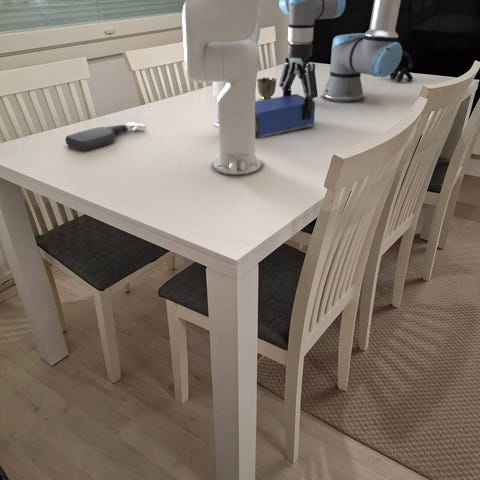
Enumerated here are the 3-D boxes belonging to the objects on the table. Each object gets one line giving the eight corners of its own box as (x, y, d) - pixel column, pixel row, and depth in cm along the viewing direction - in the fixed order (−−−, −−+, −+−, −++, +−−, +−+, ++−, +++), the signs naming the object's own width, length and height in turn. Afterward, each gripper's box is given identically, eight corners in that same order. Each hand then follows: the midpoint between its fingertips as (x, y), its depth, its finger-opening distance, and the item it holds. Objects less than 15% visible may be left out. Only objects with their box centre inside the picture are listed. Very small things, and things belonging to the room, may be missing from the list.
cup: (253, 101, 174) (253, 80, 169) (261, 97, 179) (262, 76, 175) (271, 103, 171) (271, 82, 166) (279, 99, 176) (279, 78, 172)
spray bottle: (63, 145, 135) (128, 126, 151) (84, 153, 129) (149, 132, 145) (61, 135, 134) (127, 117, 150) (83, 143, 128) (148, 123, 144)
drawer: (225, 141, 134) (224, 122, 131) (212, 132, 142) (211, 113, 139) (294, 126, 143) (295, 107, 140) (279, 118, 151) (278, 100, 147)
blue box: (259, 138, 138) (258, 112, 134) (243, 128, 147) (242, 104, 143) (314, 125, 145) (315, 101, 141) (295, 117, 154) (296, 93, 150)
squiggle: (400, 92, 202) (376, 71, 205) (417, 76, 202) (392, 56, 205) (405, 81, 191) (380, 59, 194) (423, 64, 191) (397, 42, 194)
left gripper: (247, 67, 124) (247, 131, 134) (225, 57, 135) (227, 117, 146) (222, 70, 121) (225, 135, 132) (202, 60, 133) (206, 120, 143)
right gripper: (334, 46, 128) (327, 122, 139) (289, 37, 146) (286, 104, 157) (312, 48, 125) (307, 125, 136) (269, 39, 143) (268, 107, 154)
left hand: (226, 125), depth 139 cm, fingers closed
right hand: (296, 114), depth 147 cm, fingers closed on blue box, 11 cm apart
